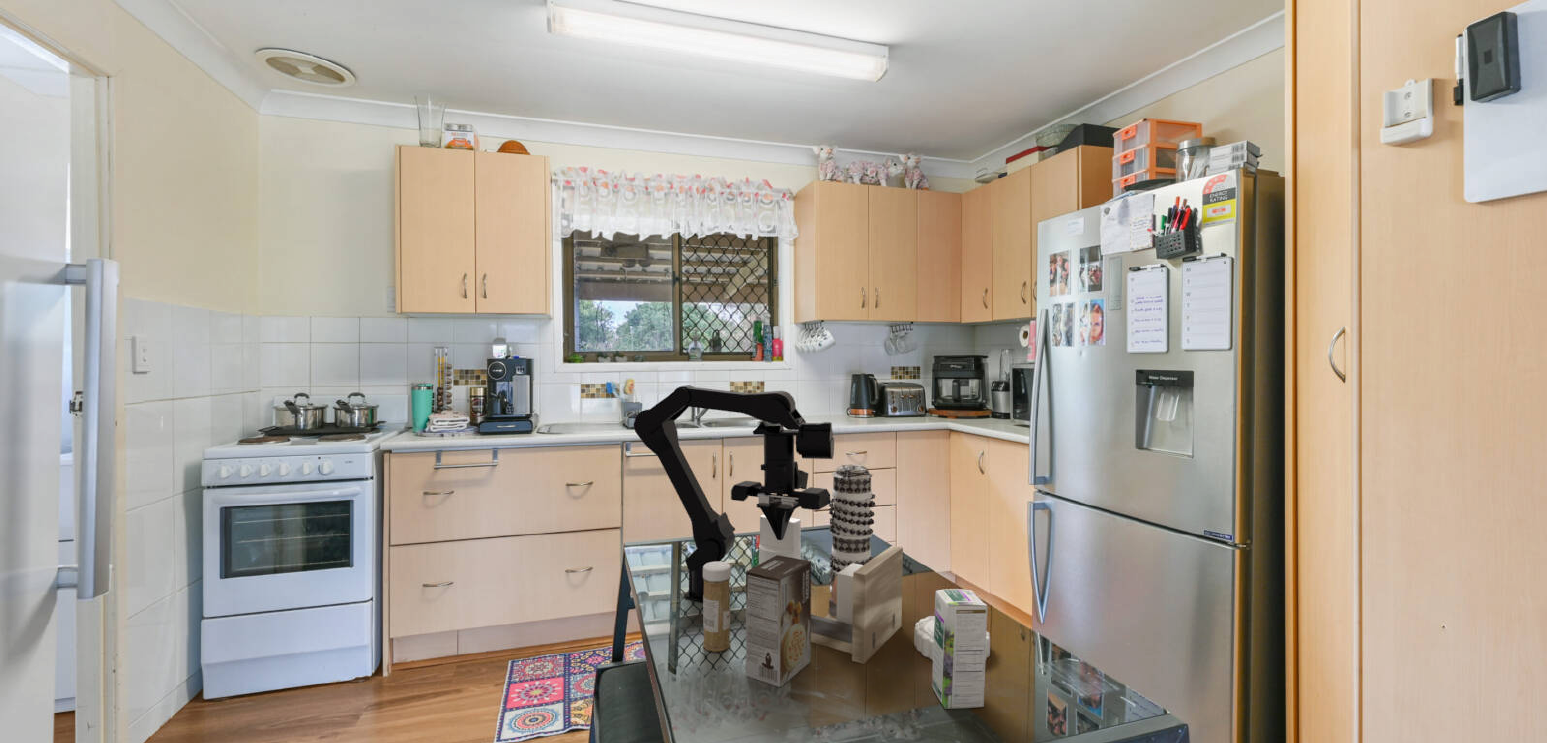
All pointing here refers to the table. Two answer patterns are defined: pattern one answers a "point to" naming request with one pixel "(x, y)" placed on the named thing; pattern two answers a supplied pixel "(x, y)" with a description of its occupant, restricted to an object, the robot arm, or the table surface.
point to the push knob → (844, 593)
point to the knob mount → (866, 609)
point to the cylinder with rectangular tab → (779, 541)
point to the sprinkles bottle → (716, 606)
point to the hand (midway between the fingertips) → (780, 539)
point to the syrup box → (959, 648)
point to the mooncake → (932, 637)
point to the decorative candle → (850, 518)
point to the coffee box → (778, 619)
